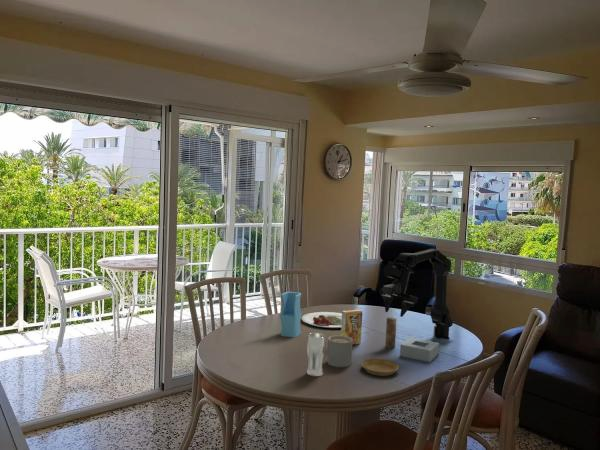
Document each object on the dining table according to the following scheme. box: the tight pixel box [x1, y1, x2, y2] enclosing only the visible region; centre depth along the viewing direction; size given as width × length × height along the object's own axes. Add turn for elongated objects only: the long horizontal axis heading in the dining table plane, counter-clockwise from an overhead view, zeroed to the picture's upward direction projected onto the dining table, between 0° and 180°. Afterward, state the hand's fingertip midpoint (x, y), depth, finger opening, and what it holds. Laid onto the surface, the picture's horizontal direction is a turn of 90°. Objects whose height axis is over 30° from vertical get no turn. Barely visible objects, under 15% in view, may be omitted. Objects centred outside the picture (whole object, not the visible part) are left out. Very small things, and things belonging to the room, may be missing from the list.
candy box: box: [340, 309, 363, 345], centre depth 223 cm, size 9×4×15 cm, turn 116°
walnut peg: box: [384, 316, 397, 349], centre depth 221 cm, size 4×4×13 cm
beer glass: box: [306, 332, 326, 377], centre depth 185 cm, size 7×7×15 cm
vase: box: [279, 291, 303, 338], centre depth 233 cm, size 8×8×20 cm
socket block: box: [399, 337, 440, 363], centre depth 211 cm, size 13×13×5 cm
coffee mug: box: [326, 334, 353, 368], centre depth 199 cm, size 13×10×10 cm
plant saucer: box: [360, 358, 400, 377], centre depth 191 cm, size 15×15×3 cm
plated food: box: [301, 311, 342, 329], centre depth 259 cm, size 30×30×3 cm
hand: (393, 314), depth 219 cm, fingers open, 9 cm apart
